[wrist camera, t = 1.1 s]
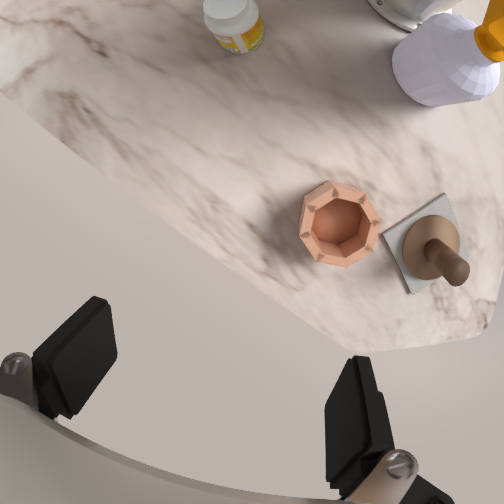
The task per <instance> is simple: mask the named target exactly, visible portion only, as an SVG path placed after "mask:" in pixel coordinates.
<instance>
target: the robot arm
mask: <svg viewBox="0 0 504 504" xmlns="http://www.w3.org/2000/svg"><path fill="white" fill-rule="evenodd" d="M460 1H461V0H368V2H369V3H370V4H371V5H372V6H373V8H374V9H375V10H376V11H377V12H378V13H380V14H381V15H382V16H383V17H384V18H386V19H387V20H388V21H390V22H391V23H393V24H395V25H397V26H398V27H400V28H403V29H405V30H407V31H410V32H413V31H414V30H415V29H416V28H417V27H419V26H420V25H421V24H422V23H423V22H425V21H426V20H427V19H428V18H429V17H431V16H432V15H436V14H440V13H452V7H453V6H454V5H456V4H457V3H459V2H460ZM116 359H117V347H116V342H115V335H114V328H113V321H112V313H111V306H110V305H109V304H108V302H107V300H105V299H102V298H99V297H96V296H93V297H91V298H90V299H89V300H88V301H87V302H86V303H85V304H84V305H83V306H82V307H80V308H79V309H78V310H77V311H76V312H75V313H74V314H73V315H72V316H70V317H69V318H68V319H67V320H66V321H65V322H64V323H63V324H62V325H61V326H60V327H59V328H58V329H57V330H56V331H55V332H54V333H53V334H52V335H51V336H49V337H48V338H47V339H46V340H45V341H44V342H43V343H42V344H41V345H40V346H39V347H38V348H37V349H36V350H35V351H34V352H33V357H32V358H30V357H29V356H28V355H27V354H25V353H22V352H16V353H12V354H10V355H8V356H7V357H5V358H4V360H3V361H2V364H1V367H0V504H454V501H453V500H452V498H451V497H450V496H449V495H447V494H446V493H444V492H442V491H441V490H440V489H438V488H437V487H435V486H434V485H432V484H431V483H429V482H428V481H426V480H425V479H423V478H422V477H421V476H419V475H418V474H417V473H418V462H417V460H416V458H415V457H414V456H413V455H412V454H411V453H410V452H408V451H405V450H401V449H395V447H394V441H393V436H392V432H391V427H390V422H389V418H388V413H387V409H386V405H385V400H384V397H383V394H382V393H381V392H379V391H378V390H377V385H376V381H375V377H374V373H373V369H372V365H371V361H370V358H369V357H365V356H354V357H353V358H352V359H350V358H349V359H348V360H347V362H346V364H345V366H344V368H343V370H342V372H341V374H340V376H339V379H338V381H337V382H336V384H335V387H334V389H333V390H332V392H331V394H330V396H329V398H328V400H327V402H326V404H325V411H324V412H325V441H326V442H325V444H326V481H327V482H330V489H339V495H341V497H340V498H339V499H338V500H326V499H310V498H297V497H287V496H278V495H270V494H262V493H255V492H249V491H243V490H238V489H232V488H228V487H223V486H218V485H214V484H210V483H205V482H201V481H198V480H194V479H190V478H186V477H183V476H180V475H176V474H173V473H170V472H167V471H164V470H161V469H157V468H155V467H152V466H149V465H146V464H144V463H141V462H139V461H136V460H133V459H131V458H128V457H126V456H124V455H121V454H119V453H117V452H114V451H112V450H110V449H107V448H105V447H103V446H101V445H99V444H97V443H95V442H92V441H90V440H89V439H87V438H84V437H83V436H81V435H79V434H77V433H75V432H73V431H71V430H69V429H68V428H66V427H64V426H62V425H60V424H59V423H58V421H57V417H58V415H59V414H61V415H63V416H65V417H66V418H68V419H71V418H72V417H73V415H77V414H78V413H79V412H80V410H81V409H82V407H83V406H84V404H85V403H86V402H87V400H88V399H89V397H90V396H91V394H92V393H93V392H94V390H95V389H96V387H97V386H98V384H99V383H100V382H101V380H102V379H103V377H104V376H105V375H106V373H107V372H108V371H109V369H110V368H111V367H112V365H113V364H114V362H115V361H116Z"/></svg>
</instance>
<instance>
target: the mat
mask: <svg viewBox="0 0 504 504" xmlns="http://www.w3.org/2000/svg"><path fill="white" fill-rule="evenodd" d="M428 215H439V216H442V217H444V218H446V219H448V220H449V221H451V222H452V223H453V224H454V226H455V227H456V229H457V231H458V233H459V237H460V250H459V254H458V255H459V256H460V257H462V258H463V259H464V260H466V259H468V258H469V256H468V252H467V249H466V246H465V243H464V240H463V237H462V234H461V231H460V228H459V225H458V223H457V220H456V217H455V215H454V212H453V209H452V207H451V204H450V202H449V199H448V197H447V195H446V194H445V193H443V194H442V195H440V196H439V197H437V198H436V199H434V200H433V201H431V202H430V203H428V204H427V205H425V206H424V207H422V208H421V209H419V210H418V211H416V212H415V213H413V214H412V215H410V216H409V217H407V218H406V219H404V220H403V221H401V222H399V223H398V224H396V225H395V226H393V227H392V228H390V229H389V230H387V231H385V232H384V233H382V234H383V236H384V238H385V240H386V242H387V244H388V246H389V248H390V250H391V252H392V254H393V256H394V258H395V260H396V262H397V264H398V266H399V268H400V270H401V272H402V274H403V276H404V279H405V281H406V283H407V285H408V287H409V290H410V292H411V294H412V295H414V294H416V293H417V292H419V291H420V290H422V289H424V288H425V287H427V286H428V285H430V284H431V283H433V282H434V281H436V280H437V279H439V278H440V277H439V278H437V279H434V280H422V279H419V278H417V277H415V276H414V275H413V274H412V273H411V272H410V271H409V270H408V268H407V267H406V265H405V263H404V261H403V257H402V245H403V241H404V238H405V235H406V233H407V232H408V230H409V228H410V227H411V226H412V225H413V224H414V223H415V222H416V221H417V220H419V219H420V218H422V217H425V216H428ZM441 277H442V276H441Z"/></svg>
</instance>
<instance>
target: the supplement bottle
mask: <svg viewBox="0 0 504 504" xmlns="http://www.w3.org/2000/svg"><path fill="white" fill-rule="evenodd" d="M203 10H204V22H205V25H206V27H207V28H208V29H209V31H210V32H211V33H212V34H213V36H214V37H215V38H216V39H217V41H218V42H219V43H220V44H221V46H222V47H223V48H224V49H226V50H227V51H229V52H232V53H236V54H243V53H248V52H251V51H253V50H254V49H256V48H257V47H258V46H259V45H260V44H261V43H262V41H263V39H264V27H263V23H262V20H261V16H260V13H259V9H258V6H257V4H256V3H255V1H254V0H204V1H203Z"/></svg>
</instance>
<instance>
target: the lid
mask: <svg viewBox="0 0 504 504" xmlns="http://www.w3.org/2000/svg"><path fill="white" fill-rule="evenodd" d="M459 250H460V237H459V233H458V231H457V229H456V227H455V226H454V224H453V223H452V222H451V221H449V220H448V219H446V218H444V217H442V216H439V215H428V216H425V217H422V218H420V219H419V220H417V221H416V222H415V223H414V224H413V225H412V226H411V227H410V228H409V230H408V232H407V233H406V235H405V238H404V241H403V245H402V257H403V261H404V263H405V265H406V267H407V268H408V270H409V271H410V272H411V273H412V274H413V275H414V276H415V277H417V278H419V279H422V280H434V279H437V278H439V277H441V276H443V277H444V278H445V279H446V280H447V281H448V282H449V283H450V285H452V286H460V285H462V284H463V283H464V282H465V281H466V280H467V278H468V276H469V273H470V267H469V264H468V263H467V262H466V261H465V260H464V259H463V258H462V257H460V256H459V255H458V254H459Z"/></svg>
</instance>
